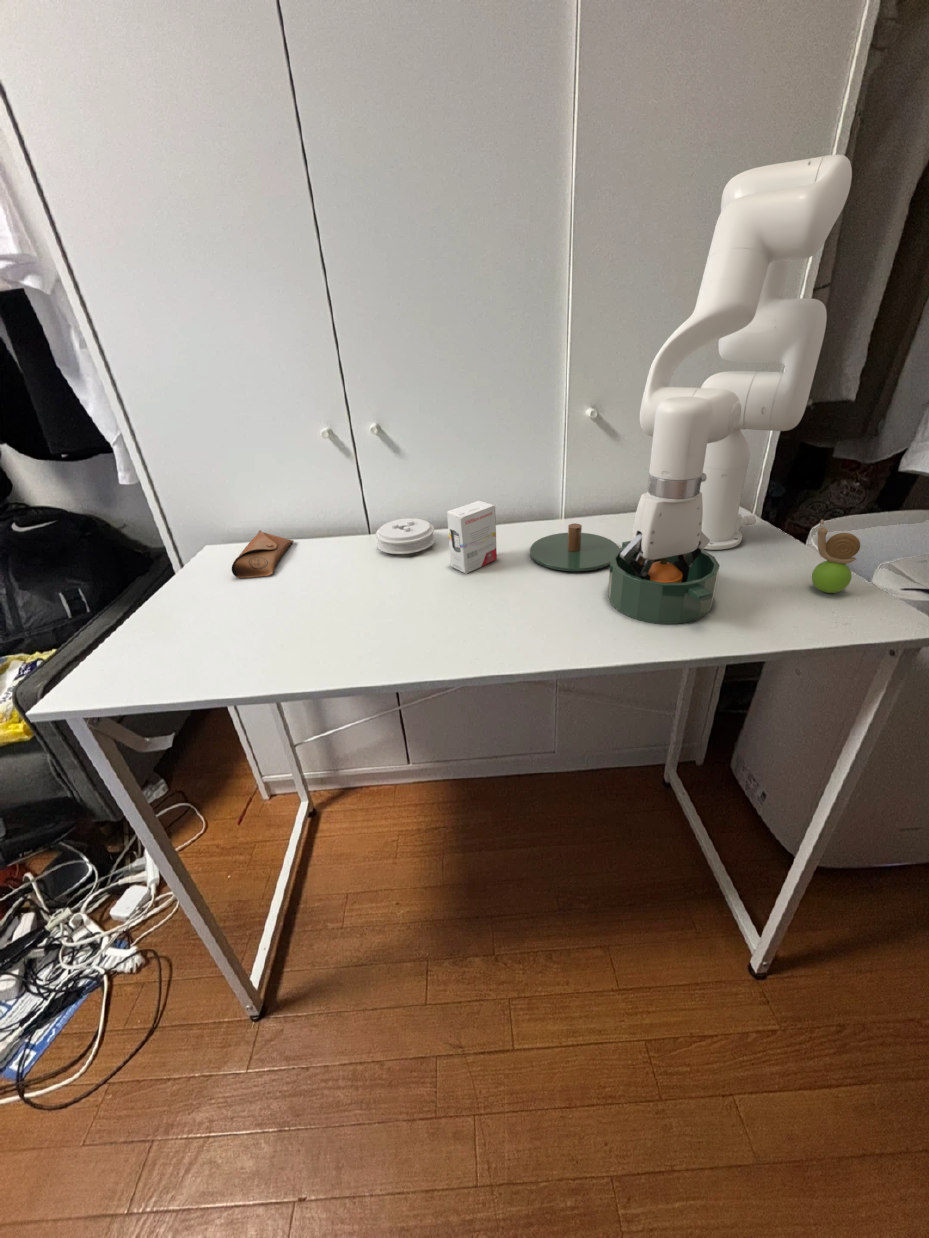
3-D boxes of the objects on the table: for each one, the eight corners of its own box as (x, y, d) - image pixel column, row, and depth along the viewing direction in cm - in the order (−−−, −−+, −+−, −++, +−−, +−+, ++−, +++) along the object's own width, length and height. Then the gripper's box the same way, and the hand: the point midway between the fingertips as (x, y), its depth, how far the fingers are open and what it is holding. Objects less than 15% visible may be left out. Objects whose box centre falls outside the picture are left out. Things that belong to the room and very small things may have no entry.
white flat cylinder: (440, 534, 124) (438, 513, 121) (429, 558, 113) (426, 535, 110) (386, 535, 126) (383, 514, 123) (370, 558, 115) (367, 536, 113)
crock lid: (592, 532, 119) (594, 505, 116) (636, 564, 104) (639, 533, 101) (517, 546, 115) (517, 518, 112) (551, 580, 101) (551, 550, 98)
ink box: (482, 553, 113) (479, 499, 107) (498, 561, 110) (496, 504, 104) (449, 567, 109) (444, 510, 103) (465, 575, 105) (461, 517, 99)
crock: (664, 564, 103) (668, 529, 100) (745, 620, 85) (755, 580, 81) (584, 580, 100) (586, 545, 96) (651, 641, 82) (657, 601, 78)
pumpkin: (664, 584, 95) (669, 547, 92) (687, 601, 90) (693, 562, 86) (632, 591, 94) (635, 553, 90) (652, 608, 89) (657, 569, 85)
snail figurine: (802, 580, 95) (821, 514, 88) (846, 587, 92) (868, 519, 85) (800, 593, 91) (819, 526, 85) (845, 601, 88) (869, 532, 82)
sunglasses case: (274, 573, 110) (250, 549, 107) (249, 591, 112) (225, 567, 109) (295, 539, 126) (274, 517, 123) (273, 555, 128) (252, 534, 125)
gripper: (707, 471, 87) (690, 571, 96) (609, 486, 84) (602, 589, 93) (739, 483, 81) (718, 590, 90) (636, 501, 77) (625, 610, 87)
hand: (659, 588), depth 91 cm, fingers closed on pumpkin, 6 cm apart
